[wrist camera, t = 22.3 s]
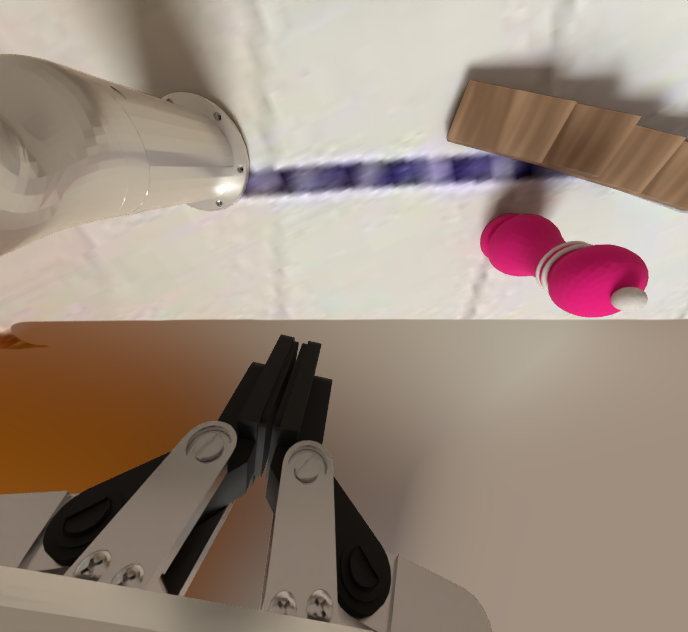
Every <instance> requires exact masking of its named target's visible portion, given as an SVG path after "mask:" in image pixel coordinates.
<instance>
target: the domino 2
mask: <svg viewBox="0 0 688 632" xmlns="http://www.w3.org/2000/svg"><path fill="white" fill-rule="evenodd" d="M641 117H642V116H638V115H633V114H628V113H623V112H618V111H613V110H608V109H603V108H598V107H593V106H588V105H583V104H579V103H576V104H575V106H574V108H573V109H572V111H571V113H570V115H569V116H568V118H567V120H566V122H565V123H564V125H563V127H562V129H561V130H560V132H559V134H558V135H557V137H556V139H555V141H554V142H553V144H552V146H551V148H550V149H549V151H548V153H547V154H546V156H545V158H544V160H543V161H542V163H540V164H543V165H546V166H550V167H554V168H558V169H561V170H565V171H569V172H573V173H576V174H580V175H584V176H587V177H591V178H594V177H598V176H600V175H601V174H602V172H603V171H604V170H605V168H606V167H607V165H608V164H609V162H610V161H611V160H612V158H613V157H614V155H615V154H616V153H617V151H618V150H619V148H620V147H621V145H622V144H623V143H624V141H625V140H626V138H627V137H628V136H629V134H630V133H631V131H632V130H633V128H634V127H635V126H636V124H637V123H638V121H639V120H640V119H641Z"/></svg>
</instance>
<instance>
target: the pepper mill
mask: <svg viewBox="0 0 688 632" xmlns="http://www.w3.org/2000/svg"><path fill="white" fill-rule="evenodd" d="M480 245H481V250H482V252H483V253H484V255H485V256H487V257H488V258H489V260H490V262H491V264H492V265H493V266H494V267H495V268H496V269H497V270H499V271H501V272H503V273H505V274H508V275H512V276H534V277H536V281H537V283H538V285H539V286H540V287H541V288H543V289H544V290H546V291H547V292H548V293H549V295H550V297H551V299H552V301H553V302H554V303H555V304H556V305H557V306H558V307H559V308H561V309H562V310H564V311H566V312H568V313H571V314H574V315H577V316H581V317H603V316H607V315H612V314H614V313H617V312H619V311H636V310H638V309H640V308H642V307H643V306H644V305H645V304H646V302H647V299H648V298H647V295H646V293H645V292H644V289H645V287H646V286H647V282H648V278H649V277H648V269H647V267H646V265H645V263H644V261H643V260H642V259H641V258H640V257H639V256H638V255H637V254H635V253H633V252H632V251H630V250H628V249H626V248H623V247H619V246H615V245H610V244H609V245H591V244H588V243H585V242H581V241H571V242H565V241H564V239H563V238H562V236H561V233H560V231H559V229H558V228H557V227H556V226H555V225H554V224H553V223H552V222H551V221H550V220H548V219H546V218H544V217H542V216H539V215H535V214H524V215H519V214H512V213H511V214H505V215H502V216H499V217H497V218H496V219H494V220H493V221H492V222H491V223H490V224H489V225H488V226H487V227H486V228H485V230H484V232H483V234H482V236H481V242H480Z"/></svg>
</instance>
